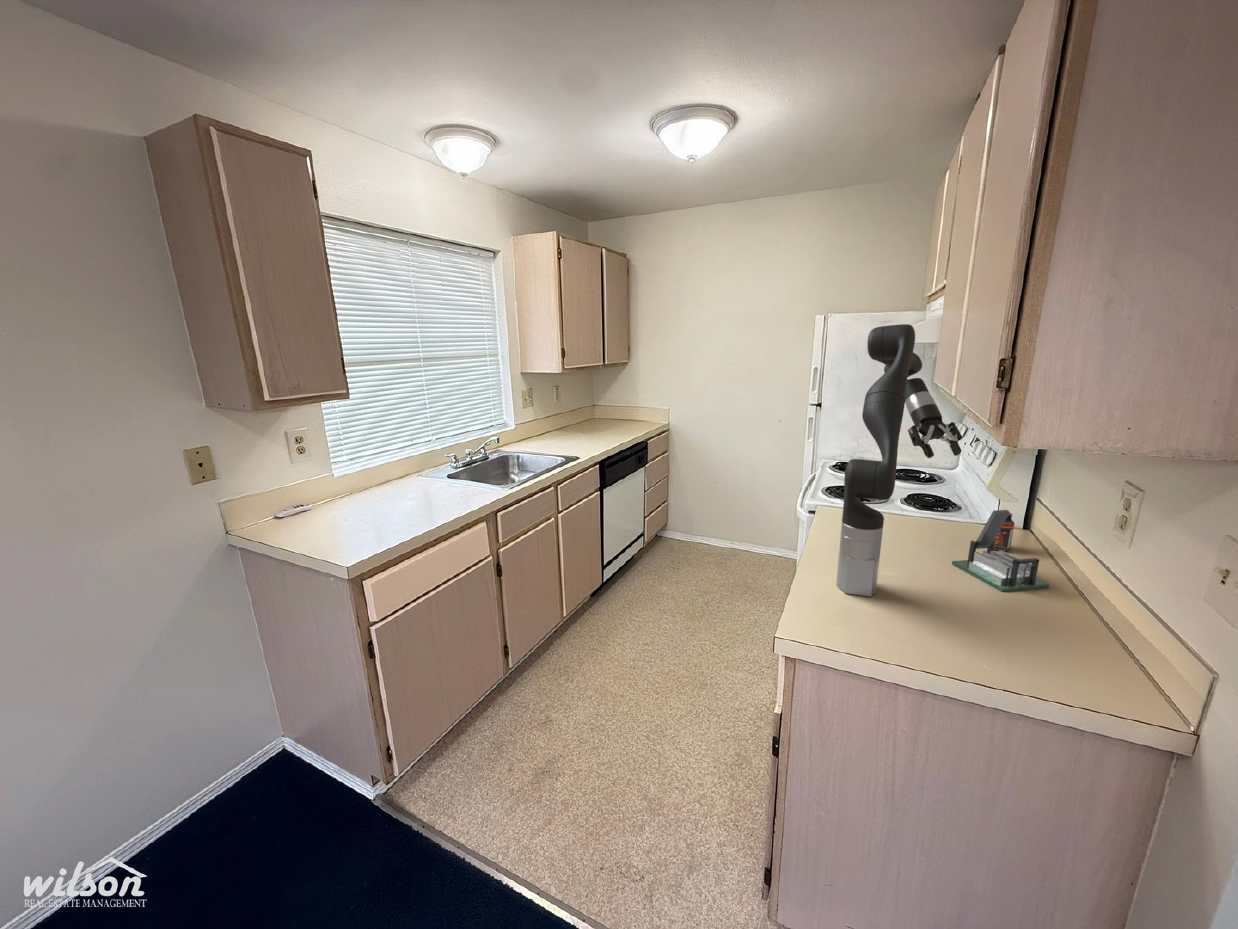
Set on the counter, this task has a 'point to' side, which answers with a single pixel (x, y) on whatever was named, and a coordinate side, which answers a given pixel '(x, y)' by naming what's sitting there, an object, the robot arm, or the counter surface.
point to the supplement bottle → (1004, 535)
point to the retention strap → (991, 528)
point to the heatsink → (1002, 569)
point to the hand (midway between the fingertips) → (944, 455)
